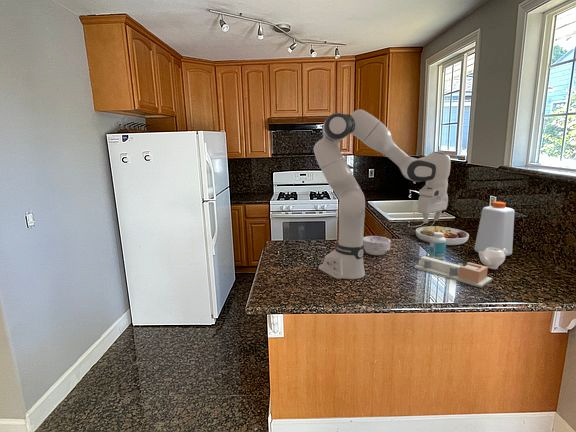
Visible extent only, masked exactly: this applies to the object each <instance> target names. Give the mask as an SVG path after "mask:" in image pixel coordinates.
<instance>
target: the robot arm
mask: <svg viewBox="0 0 576 432" xmlns="http://www.w3.org/2000/svg"><path fill="white" fill-rule="evenodd" d="M348 135H352V136H354V137H356V138H358V140H359V141H361V142H362V143H363V144H364V145H366V146H367V147H369V148H370V149H371V150H374V151H377V152H378V153H381V154H383V156H386V157H387V158H388V159H389V160H390V161H392V162H393V163H394V164H395V165H396V166H397V167H398V168H399V171H400V172H401V175H402V176H403V177H404V178H405V179H406V180H410V181H412V182H414V183H418V182H419V183H422V182H425V185H423V186H422V188H420V189H419V190H418V195H419V197H418V202H417V211H418V213H419V214H422V217H423V221H422V222H423V223H424V224H429V221H430V219H429V216H430V214H431V213H435V215H434V216H433V221H439V220H440V217H441V215H442V212H443V211H445V210H447V208H448V204H449V203H448V202H449V196H448V195H449V194H448V186H449V183H448V182H449V179H448V178H449V176H450V173H451V165H452V163H451V162H452V161H451V157H450V155H449V154H447V153H444V152H439V151H432V152H431V153H429V154H427V155H425V156H423V157H419V158H417V157H413V156H410V155H408V154H407V153H406V152H405V151H404V150H403V149H401V148H400V147H399V146H398V145H397V144H396V143H395V141H394V139H393V137H392V133H391V131H390V129H388V127H387V126H386V125H385V124H384V123H383V122H382V121H381V120H380V119H378V118H377V117H375V116H374V115H373V114H371V113H369V112H368V111H366V110H364V109H357V110H354V111H353V112H352V113H351V114H347V113H341V112H336V113H332V114H330V115H329V116H328V117H326V119H325V120H324V122H323V125H322V138H321V139H319V140H318V141H316V143H315V144H314V146H313V153H314V155H315V159H316V161H317V164H318V166H319V169H321V172H322V175H324V177H325V180H326V182H327V183H328V185H329V187H330V188H331V189H332V191H333V193H334V194H335V196H336V198H337V199H338V240H337V241H338V242H336V243H334V244H333V247H335V249H334V250H332V251H331V252H329V253H328V254H326V255H325V256H324V259H323V263H321V264H319V265H318V270H320V271H322V272H323V273H326V274H327V275H329V276H330V277H333V278H334V279H339V280H340V279H345V280H346V279H347V280H356V279H361V278H363V277H365V276H366V272H365V267H364V266H365V264H364V254H365V249H364V244H363V237H365V236H364V233H365V216H366V213H365V211H366V198H365V194H364V192H363V191H362V188H361V186H360V185H359V183H358V181H357V180H356V178H355V176H354V174H353V172H352V171H351V169H350V167H349V165H348V163H347V161H346V159H345V157H344V155H343V153H342V152H341V149H340V145H339V143H340V142H341V141H343V140H344V139H345V138H346V137H347V136H348Z"/></svg>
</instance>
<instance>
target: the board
mask: <svg viewBox="0 0 576 432" xmlns="http://www.w3.org/2000/svg"><path fill="white" fill-rule="evenodd" d="M432 258H434V259H437V260H438V257H432ZM430 264H431V261H430V260H425V263H424V265H421V264H420V263H417V265H414V269H417V270H420V271H423V272H427V273H430V274H433V275H437V276H440V277H444V278H447V279H450V280H454V281H457V282H461V283H462V284H463V283H464V284H467V285H471V286H473V287H478V288H481V289H482V288H483V287H485V286H486V285H487V284H490V283H491V282H492V281H493V277H489V276H488V270H489V268H488V267H486V265H482V264H477V263H474V262H469V261H468V262H466V265H470V266H474V267H477V268H479V269H478V270H475V269H471V268H467V267H463V266H464V263H461V262H458V263H457V265H460V268H459V275H456V270H457V268H456V267H450V273H449V272H446V271H442V270H439V269H435V268H432V267H430Z"/></svg>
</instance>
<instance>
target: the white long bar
mask: <svg viewBox="0 0 576 432" xmlns="http://www.w3.org/2000/svg"><path fill="white" fill-rule="evenodd" d="M425 260H430V261H431V264H430V267H432V268H435V269H439V270H442V271H446V272H449V273H450V267H456V268H457V270H456V275H459V268H460V265H457V264H458V263H457V264H456V263H453V262H449V261H444V260H437V259H434V258H430V257H429V256H426V255H423V256H421V257H420V262H419V264H421V265H424V263H425ZM463 267H467V268H471V269H475V270H478V269H479V268H477V267H474V266H470V265H467V264H466V265H463Z"/></svg>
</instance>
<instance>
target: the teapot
mask: <svg viewBox="0 0 576 432" xmlns="http://www.w3.org/2000/svg"><path fill="white" fill-rule="evenodd" d="M505 252H506V253H508V252H507V250H506V249H503V250H501V249H499V248H494V247H488V248H486V249H485V250H484V251H483V252H482V251H479V253H478V257H479V259H480V262H481V263H482V264H483V266H486V267H488V269H491V270H498V268H499V266H500V265H502V264H503V263H504V262H505V260H506V256H505Z"/></svg>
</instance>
